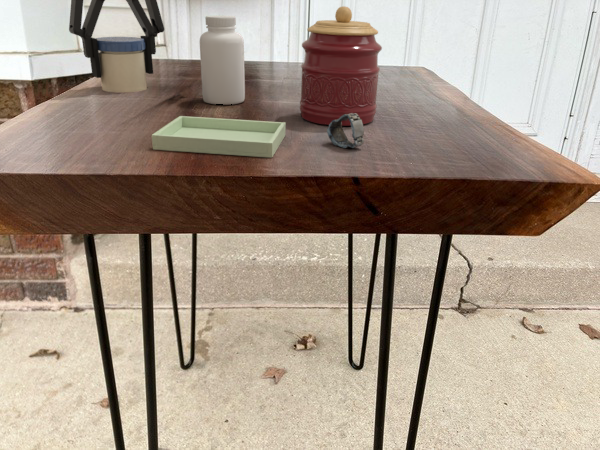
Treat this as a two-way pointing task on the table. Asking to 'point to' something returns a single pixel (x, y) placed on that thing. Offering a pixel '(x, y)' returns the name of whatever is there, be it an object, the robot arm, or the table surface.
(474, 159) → the table surface
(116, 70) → the jar
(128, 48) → the jar lid
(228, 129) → the tray
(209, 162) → the table surface
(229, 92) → the pill bottle
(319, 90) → the kitchen canister
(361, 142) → the wristwatch
